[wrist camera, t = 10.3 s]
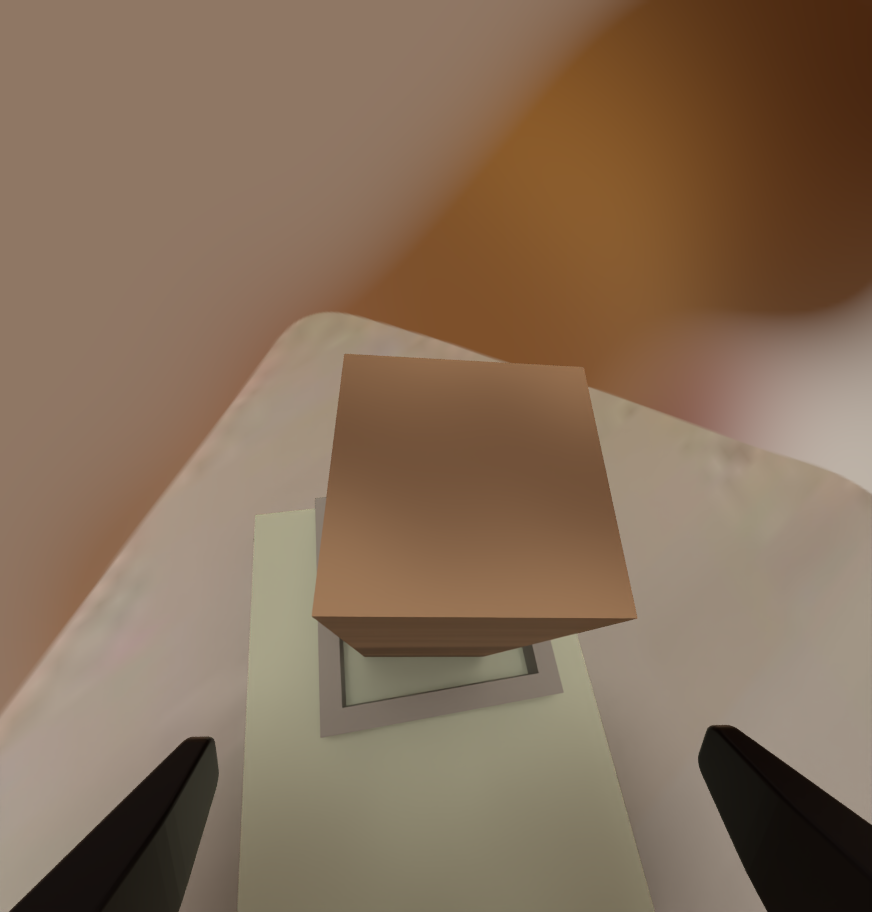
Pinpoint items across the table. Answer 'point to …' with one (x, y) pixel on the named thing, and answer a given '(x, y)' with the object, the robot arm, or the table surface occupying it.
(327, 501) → the walnut pillar
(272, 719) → the footing plate
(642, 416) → the table surface
